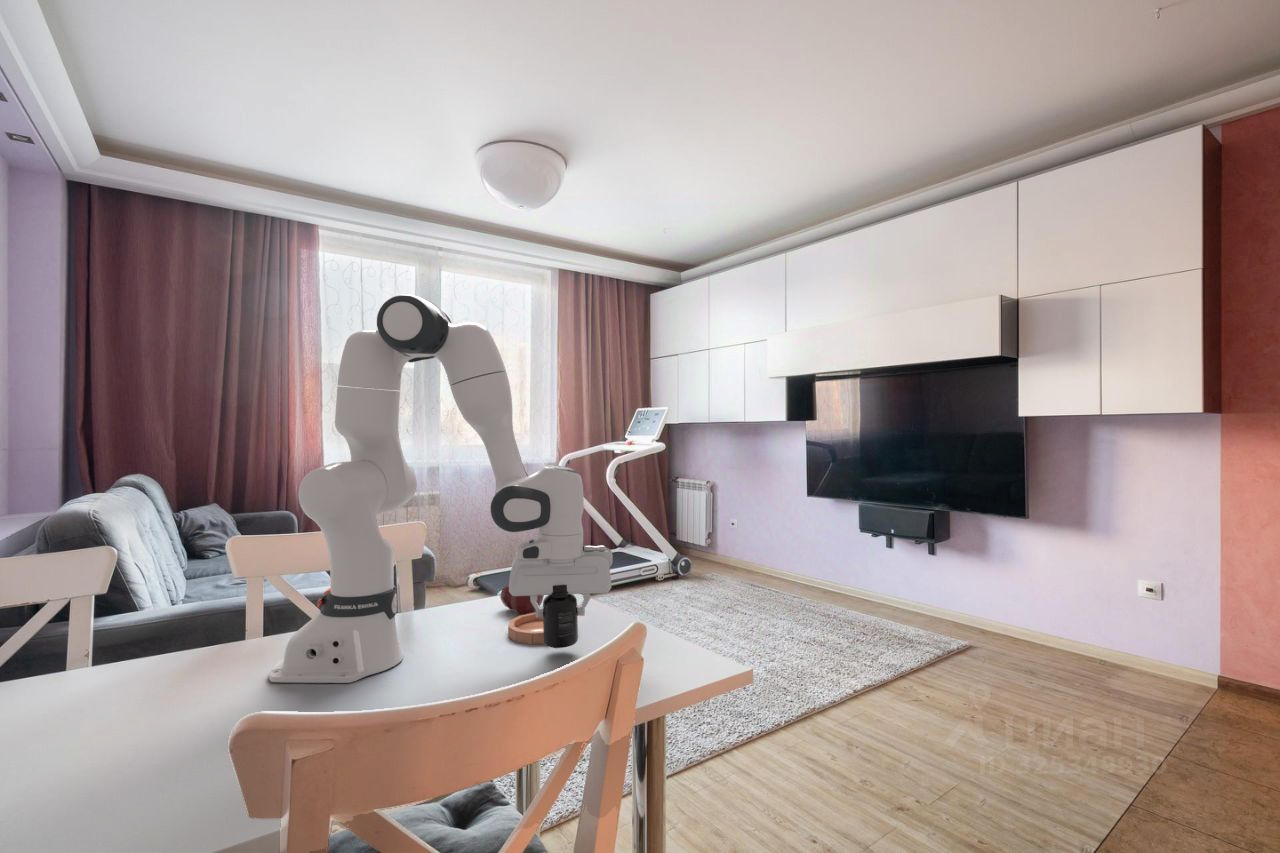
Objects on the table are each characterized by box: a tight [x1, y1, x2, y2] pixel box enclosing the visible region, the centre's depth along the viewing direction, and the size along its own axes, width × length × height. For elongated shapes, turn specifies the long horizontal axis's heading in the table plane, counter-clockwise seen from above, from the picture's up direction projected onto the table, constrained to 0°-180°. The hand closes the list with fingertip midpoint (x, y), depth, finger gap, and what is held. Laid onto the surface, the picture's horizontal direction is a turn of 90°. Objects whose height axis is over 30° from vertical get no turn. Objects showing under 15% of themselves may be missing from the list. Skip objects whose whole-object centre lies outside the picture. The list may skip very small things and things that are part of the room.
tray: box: [507, 612, 545, 645], centre depth 133 cm, size 14×14×2 cm
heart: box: [499, 584, 545, 616], centre depth 149 cm, size 12×8×10 cm
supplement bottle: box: [542, 585, 579, 649], centre depth 120 cm, size 7×7×12 cm
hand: (560, 615), depth 120 cm, fingers closed on supplement bottle, 7 cm apart
